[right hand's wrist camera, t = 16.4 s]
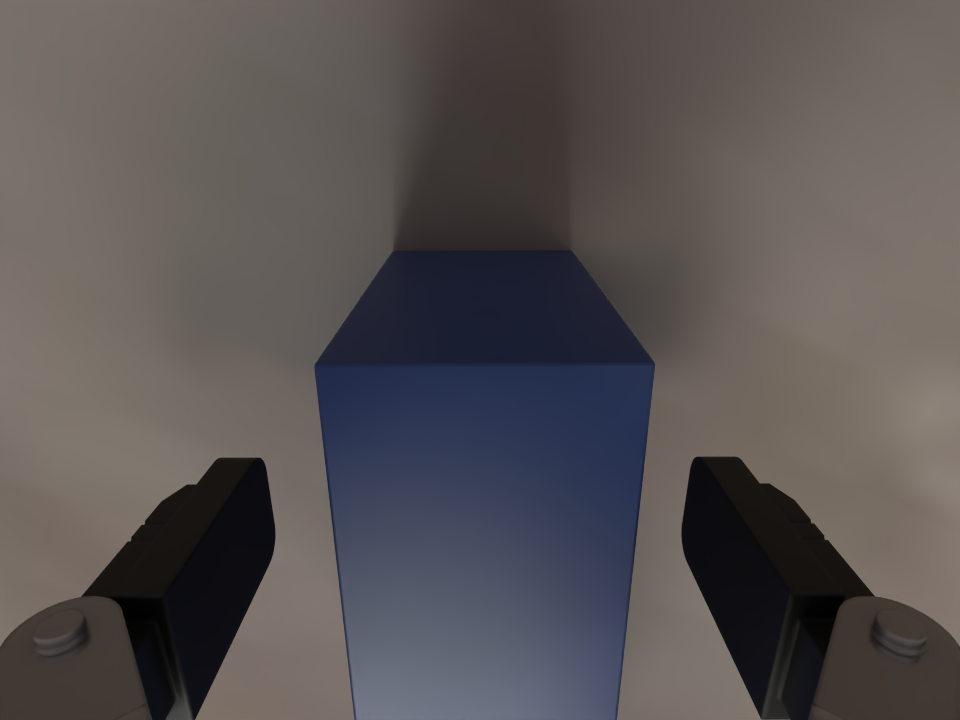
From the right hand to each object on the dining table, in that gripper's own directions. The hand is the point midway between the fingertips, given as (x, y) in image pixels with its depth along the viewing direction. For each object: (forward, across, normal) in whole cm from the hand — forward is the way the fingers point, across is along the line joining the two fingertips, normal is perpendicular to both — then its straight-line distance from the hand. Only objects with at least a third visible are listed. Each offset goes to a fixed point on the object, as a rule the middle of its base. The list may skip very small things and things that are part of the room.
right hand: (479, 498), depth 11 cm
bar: (+6, 0, -8) cm, 10 cm away
